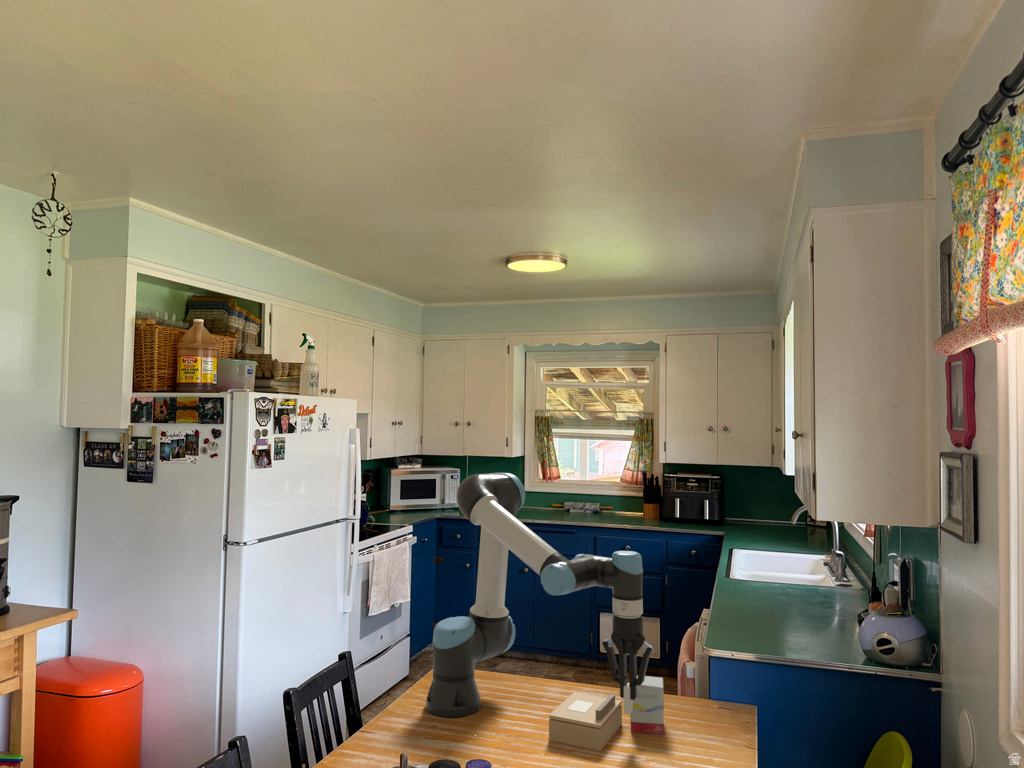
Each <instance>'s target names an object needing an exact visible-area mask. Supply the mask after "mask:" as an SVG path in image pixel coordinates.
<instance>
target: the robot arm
mask: <svg viewBox="0 0 1024 768" xmlns="http://www.w3.org/2000/svg"><path fill="white" fill-rule="evenodd" d="M525 502H526V491H525V487H524V485H523V483H522V482H521V480H520V479H519V477H517V476H516V475H514V474H512V473H510V472H492V473H491V472H490V473H475V474H471V475H469V476H467V477H465V478H464V479H463V480H462V481H461V482H460V483H459V486H458V488H457V491H456V503H457V506H458V509H459V511H460V512H461V513H462V515H463V516H464V517H465V518H466V519H467V520H468V521H469V522H470V523H472V524H473V525H475V526H480V538H479V539H480V541H479V553H478V567H477V568H478V569H477V578H476V590H475V591H476V593H475V595H476V596H475V603H474V605H472V606H471V607H470V608H469V616H463V615H458V616H454V617H453V616H450V617H447V618H445V619H442V620H440V621H438V623H436V624H435V626H434V628H433V636H432V681H431V682H430V686H429V690H428V693H427V696H426V701H425V709H426V711H427V712H428V713H430V714H431V715H434V716H438V717H441V718H442V717H444V718H461V717H465V716H469V715H473V714H475V713H476V712H478V711H479V710H480V708H481V696H480V695H481V694H480V693H479V688H478V686H477V683H476V679H475V663H479V662H481V661H484V660H487V659H490V658H493V657H494V658H495V657H498V656H500V655H502V654H504V653H505V652H507V651H508V650H509V649H510V648H511V647H512V646H513V645H514V642H515V638H516V626H515V623H513V618H512V617H511V616H510V615H509V614H510V611H509V610H508V608H507V607H506V606H505V604H506V603H505V601H506V588H507V576H508V575H507V574H508V573H507V572H508V561H509V560H508V559H509V551H510V552H511V553H513V554H514V555H515V556H517V558H519V560H521V561H522V562H523V563H524V564H525V565H527V566H528V567H529V568H530V569H531V570H533V571H534V573H536V574H537V575H539V577H540V583H541V585H542V587H543V590H544V591H545V592H546V593H547V594H548V595H551V596H555V597H556V596H563V595H568V594H570V593H574V592H577V591H580V590H584V589H587V588H591V587H602V588H608V589H612V591H611V592H612V613H613V615H612V633H611V635H610V637H609V638H606V639H604V640H603V641H602V646H603V648H604V650H605V653H606V655H607V656H606V657H607V661H608V665H609V669H610V674H611V679H612V681H613V682H616V683H618V684H619V696H620V698H621V699H623V714H627V715H631V712H632V711H633V700H635V698H636V696H637V690H636V686H637V685H639V686H640V685H641V684H642V683H643V682H644V679H645V676H646V673H647V669H648V665H649V661H650V656H651V654H652V652H654V649H655V646H654V645H653V644H649V643H648V642H647V641H646V637H645V636H644V617H643V616H642V615H643V614H644V605H643V603H644V601H643V599H644V598H643V574H644V568H643V560H642V559H643V558H642V555H641V553H639V552H638V551H633V550H617V551H614V552H613V553H612V554H611V557H608V556H607V557H606V556H601V555H594V554H591V553H585V554H584V553H580V554H579V553H578V554H576V555H575V556H574V558H572V559H570V560H568V559H567V558H566V557H565V556H564V555H563V554H561V553H560V552H558V551H557V550H556V549H554V547H552V546H551V545H550V544H548V543H547V542H546V541H545V540H543V539H542V538H541V537H540V536H539V535H537V534H536V533H535V532H534V531H533V530H532V529H530V528H529V527H528V526H527V525H525V524H524V523H523V522H522V521H520V519H518V518H517V512H518V511H519V510H520V509H521V508H522V507H523V506H524V504H525ZM614 646H615V647H616V649H617V651H618V660H619V661H617V658H616V653H615V648H614ZM641 648H642V652H643V654H642V657H641V661H640V667H639V670H638V663H637V661H638V659H637V658H638V657H637V656H638V652H639V651H640V649H641ZM627 655H628V657H627ZM627 658H628V659H629V661H628V659H627ZM617 662H618V663H617ZM627 663H629V665H628V664H627ZM618 664H619V665H618ZM618 666H619V667H618ZM628 666H629V667H628ZM627 667H628V668H627ZM628 671H629V673H628ZM637 675H638V678H637ZM628 676H629V680H628ZM628 681H629V682H628Z"/></svg>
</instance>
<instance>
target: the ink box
mask: <svg viewBox="0 0 1024 768" xmlns="http://www.w3.org/2000/svg"><path fill="white" fill-rule="evenodd" d="M637 678H638V674H637ZM636 690H637V696H636V698H635V700H633V711H632V712H631V714H630V731H631V732H632V733H642V734H653V735H654V734H656V735H664V733H665V731H664V729H665V710H664V709H665V708H664V707H665V700H664V699H665V698H664V693H665V692H664V678H663V677H659V676H658V677H657V676H651V675H650V676H649V675H645V679H644V682H643V683H642V684H641V685H640V686H639V685H637V686H636Z"/></svg>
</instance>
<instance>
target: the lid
mask: <svg viewBox="0 0 1024 768" xmlns="http://www.w3.org/2000/svg"><path fill="white" fill-rule="evenodd" d="M622 703H623V702H622V700H620V699H616V694H613V693H610V694H609V695H608V697H605V696H597V695H592V694H586V693H581V692H575V691H574V692H573V693H571V694H570V695H569V696H568V697H567V698H566V699H565V700H564V701H562V703H560V704H559V705H558V706H557V707H556V708H555V709H554V710H553V711H551V713H549V714H548V719H555V720H560V721H565V722H570V723H575V724H580V725H585V726H591V727H596V728H601V727H602V726H603V725H604V723H605V722H606V721H607V720H608V719H609V718H610V717H611V715H612V714H613V713H614V712H615V711H616V710H617V709H618V707H619V706H620V705H622Z"/></svg>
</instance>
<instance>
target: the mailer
mask: <svg viewBox="0 0 1024 768" xmlns="http://www.w3.org/2000/svg"><path fill="white" fill-rule="evenodd" d="M622 711H623V705H622V704H621V705H620V706H619V707H618V709H617V710H616V711H615V712H614V713H613V714H612V715H611V717H610V718H609V719H608V720H607V721H606V722H605V723H604V725H603V726H602V727H601V728H596V727H591V726H585V725H580V724H575V723H570V722H565V721H560V720H555V719H550V718H548V741H551V742H554V743H555V742H556V743H559V744H564V745H569V746H574V747H579V748H584V749H589V750H593V751H598V752H601V751H602V750H603V749H604V747H605V746H606V745H608V744H607V743H608V742H609V741H610V740H611V739H612V737H613V736H614V735H615V734H616V733H617V732H618V730H619V729H620V728H621V726H622V725H623V713H622ZM619 727H620V728H619Z"/></svg>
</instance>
